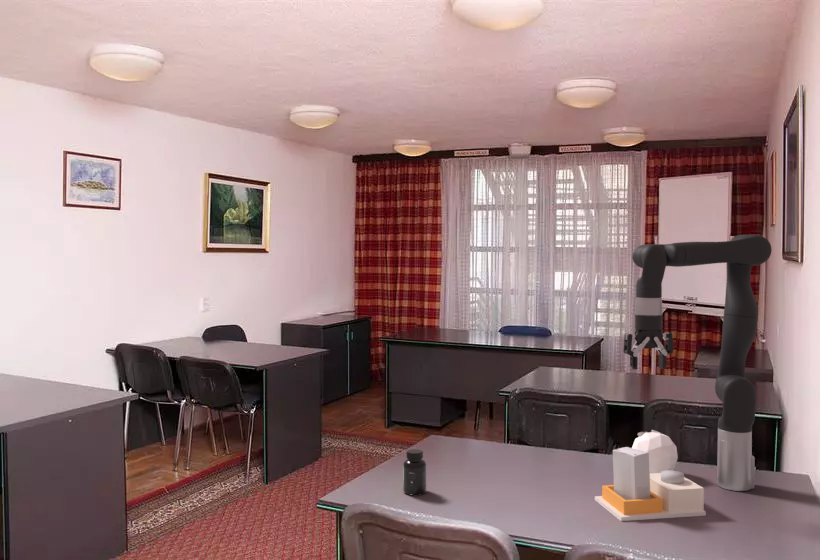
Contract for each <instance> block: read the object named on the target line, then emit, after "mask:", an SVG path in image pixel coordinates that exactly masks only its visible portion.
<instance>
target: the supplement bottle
mask: <svg viewBox="0 0 820 560" xmlns="http://www.w3.org/2000/svg"><path fill="white" fill-rule="evenodd" d="M405 456H406V457H405V458H406V459H405V460H404V461H403V463H402V491H404V492H405V493H407V494H413V495H417V496H420V495H419V494H422V495H424V494H425V493H427V462H426V461H425V460H424V450H422V449H417V448H413V449H408V450H406V455H405ZM404 492H403V493H404ZM405 493H404V494H405ZM407 494H406V495H407Z"/></svg>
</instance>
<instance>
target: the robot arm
mask: <svg viewBox="0 0 820 560" xmlns="http://www.w3.org/2000/svg"><path fill="white" fill-rule="evenodd" d="M772 251H773V250H772V244H771V242H770V241H769V240H768V238H766V237H765V236H762V235H759V234H738V235H734V236H733V237H732V238H731V239H730V240H727V241H684V242H683V241H682V242H673V243H666V244H663V243H662V244H661V243H660V244H657V243H652V244H650V243H649V244H648V243H647V244H641V245H638V246H637V247H636V248H635V249H634V250H633V251H632V257H631V258H632V261H633V263H634V264H635V265H636V266H637V267H638V268H641V269H642V272H641V276H640V277H639V278H638V279H637V280H636V283H635V297H636V298H635V305H634V330H635V332H634V333H629V332H628V333H627V332H626V333H624V338H623V339H624V340H623V354H625V355H628V356H629V366H630V368H631V369H632V370H638V364H639V363H638V362H639V361H638V355H639V354H640V352H641V351H642V350H643V349H655V350H656V351H657V352H658V354H659V355H658V368H659V369H663V370H664V369H665V368H666V367H667V356H668V355H670V354H673V353H674V342H673V341H674V340H673V339H674V338H673V334H672V333H671V332H666V331H665V332H664V333H663V332H662V329H663V312H664V311H663V301H662V300H663V298H662V295H663V294H662V293H663V292H662V291H663V290H662V289H663V287H662V286H663V285H662V283H663V279H664V277H665V272H666V267H672V268H673V267H676V268H679V267H680V268H681V267H692V266H693V267H694V266H701V265H702V266H703V265H713V264H714V265H715V264H724V263H726V285H725V287H726V288H725V297H724V298H725V302H724V310H723V318H722V320H723V321H722V334H721V345H720V346H721V349H720V358H719V363H718V364H719V365H718V368H717V369H718V370H717V373H716V378H715V384H714V391H715V394H716V397H717V398H718V399H719V400H720V401H721V402H722V413H721V416H720V417H719V418H718V421H717V461H716V462H717V466H716V467H717V468H716V470H717V471H716V484H717V486H718V487H720V488H722V489H725V490H729V491H735V492H736V491H737V492H744V491H745V492H747V491H749V490H752V489H755V467H756V466H755V460H756V458H755V456H754V455H753V454H752V453H753V452H752V447H753V444H752V443H753V439H752V435H753V434H752V433H753V425H754V422H755V419H756V407H757V405H756V404H757V403H756V402H757V393H756V389H755V388H756V387H755V385H754V384H753V383H752V382H751V381H750V380H749V379H747V378H746V375H745V369H746V361H747V356H748V353H749V351H750V348H751V347H752V345H753V342H754V340H755V337H756V335H757V329H758V321H759V320H758V319H759V308H758V304H757V301H756V297H755V294H754V292H753V288H752V285H751V275H752V274H751V273H752V267H753V266H755V267H756V266H759V265H762V264H764V263H766V262H767V261H768V260H769V258H770V257H771V254H772ZM634 340H635V342H634V344H633V341H634ZM662 340H664V345H663V344H662ZM632 344H633V345H632Z"/></svg>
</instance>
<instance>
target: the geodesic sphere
mask: <svg viewBox="0 0 820 560" xmlns="http://www.w3.org/2000/svg"><path fill="white" fill-rule="evenodd" d="M637 436H638V437H636V438H635V439H634V441H633V444H632V447H631V448H633V449H637V450H640V451H645V452H648V453H649V471H650V473H661V472H662V471H665V470H673V471H675V467H676V465H677V462H678V457H679V456H678V450H677V448H678V447H677V445H676V444H675V443H674V441H672V439H671V438H670V436H668V435H666V434H663V433H662V432H659V431H658V430H654V429H651V431H650V432H648V431H640V432H637Z"/></svg>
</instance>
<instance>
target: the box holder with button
mask: <svg viewBox="0 0 820 560" xmlns="http://www.w3.org/2000/svg"><path fill="white" fill-rule="evenodd" d="M650 496H651V499H636V500H625V499H623V498H622V497H621V496H619V495H618V494H617V493H615V492H614V484H608V485H607V484H606V485H602V486H601V495H597V496H596V495H595V496H594V501H595V502H596V503H598V504H599V505H601V506H602V507H603V508H604V509H605V510H607V511H608V512H609V513H610V514H612V515H613V516H614V517H615V518H617V519H618V520H619V522H628V521H629V522H631V521H645V520H657V519H660V520H661V519H674V518H687V517H701V516H703V517H704V516H707V512H706V510H705V509H704V507H705V506H704V505H705V489H704V487H702V486H701V485H699V484H697V483H695V482H694V481H692V480H691V479H688V478H687V477H685V474H684V473H683V472H682V471H678V470H665V471H662V472H661V473H650Z"/></svg>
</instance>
